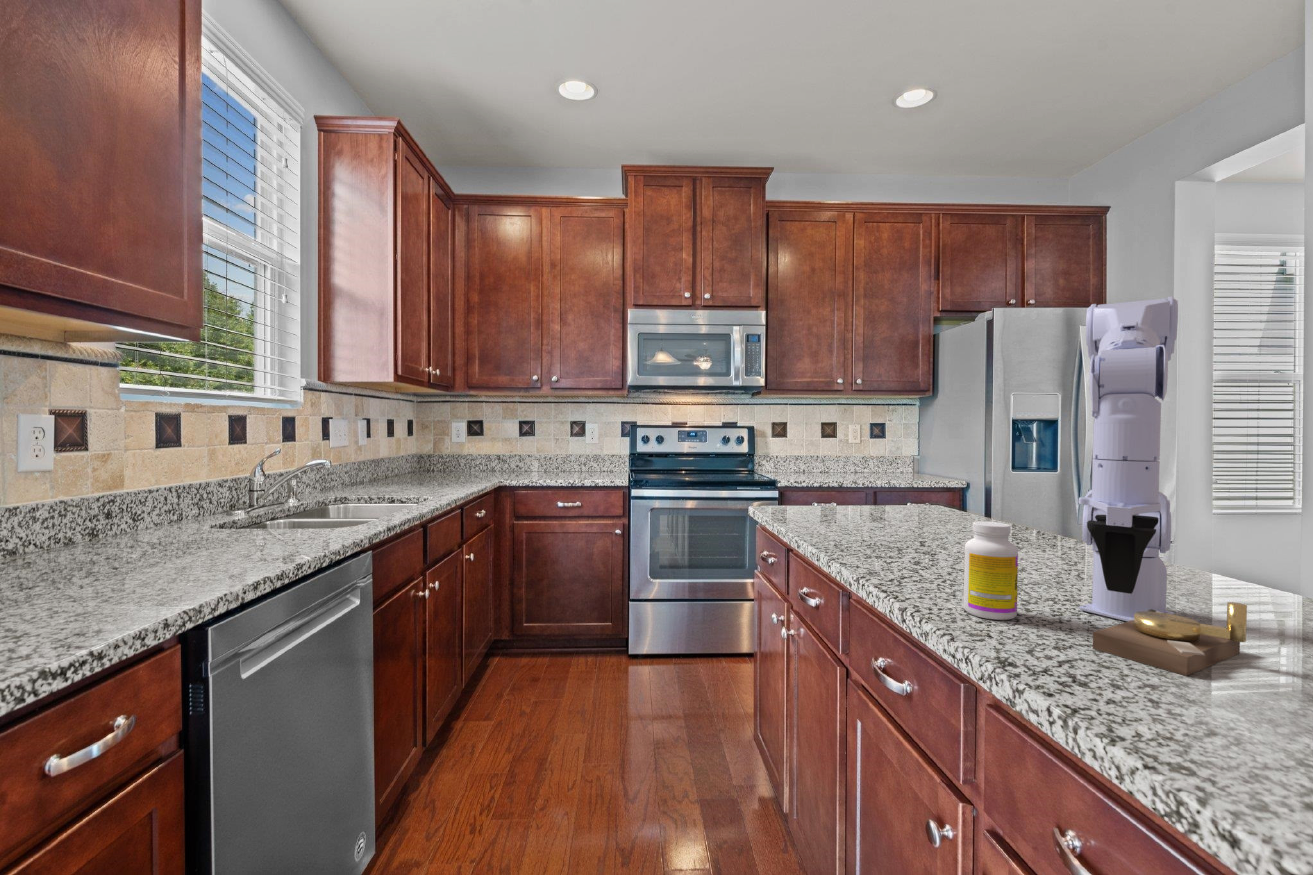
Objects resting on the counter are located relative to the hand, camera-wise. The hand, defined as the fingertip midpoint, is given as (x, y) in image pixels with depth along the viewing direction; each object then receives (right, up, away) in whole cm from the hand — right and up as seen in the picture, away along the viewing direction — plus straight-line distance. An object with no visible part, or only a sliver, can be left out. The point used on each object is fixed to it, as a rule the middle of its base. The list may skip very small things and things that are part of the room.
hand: (1122, 585), depth 65 cm
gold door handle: (+12, -7, +5) cm, 15 cm away
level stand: (+10, -9, +6) cm, 15 cm away
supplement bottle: (-3, -9, +20) cm, 22 cm away
